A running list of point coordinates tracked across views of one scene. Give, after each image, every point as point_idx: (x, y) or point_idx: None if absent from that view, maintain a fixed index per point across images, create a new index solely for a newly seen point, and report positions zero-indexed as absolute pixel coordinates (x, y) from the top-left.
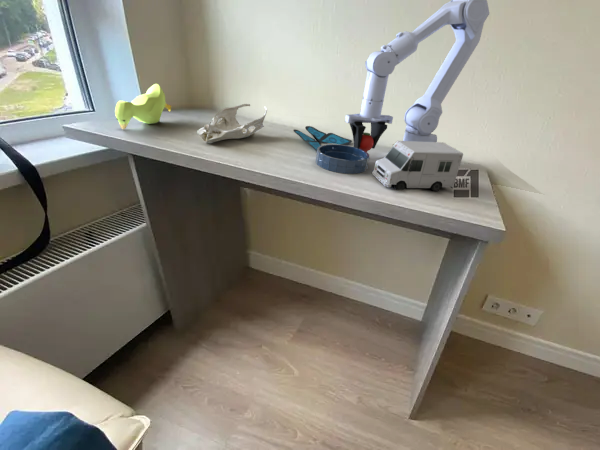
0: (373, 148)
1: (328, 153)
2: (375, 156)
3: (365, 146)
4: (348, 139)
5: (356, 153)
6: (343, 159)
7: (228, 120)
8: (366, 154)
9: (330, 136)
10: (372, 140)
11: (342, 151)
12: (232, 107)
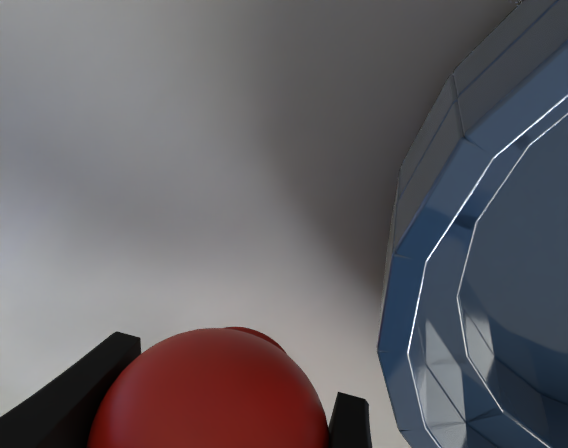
0: (127, 334)
1: None
2: (86, 297)
3: (279, 376)
4: None
5: (417, 338)
6: (531, 346)
7: None
8: (480, 173)
9: None
10: (134, 425)
11: (502, 444)
12: None
